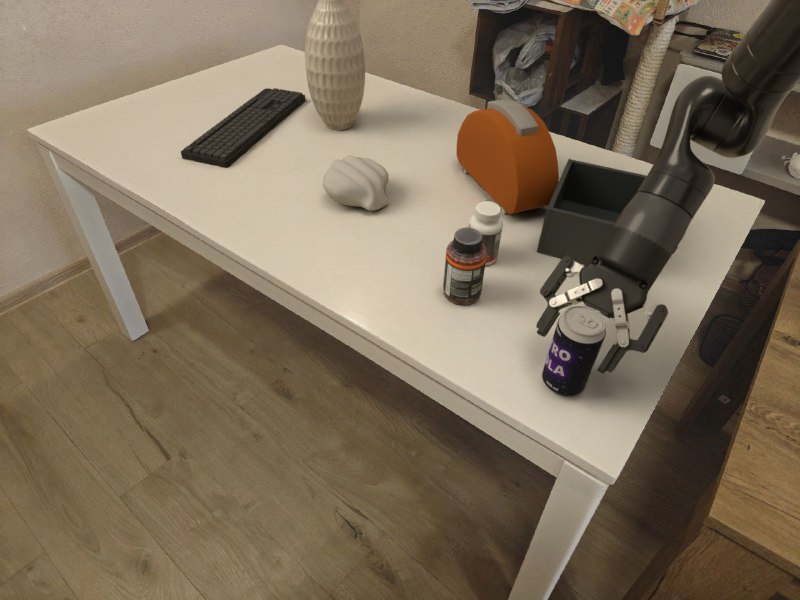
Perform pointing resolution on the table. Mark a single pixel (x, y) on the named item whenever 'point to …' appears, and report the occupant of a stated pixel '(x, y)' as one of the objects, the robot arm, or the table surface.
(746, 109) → the robot arm
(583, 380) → the beverage can
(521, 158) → the alarm clock
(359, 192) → the shell shaped sculpture
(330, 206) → the table surface
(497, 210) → the pill bottle
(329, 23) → the vase
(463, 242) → the supplement bottle
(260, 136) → the keyboard
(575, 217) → the open storage box
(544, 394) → the table surface
